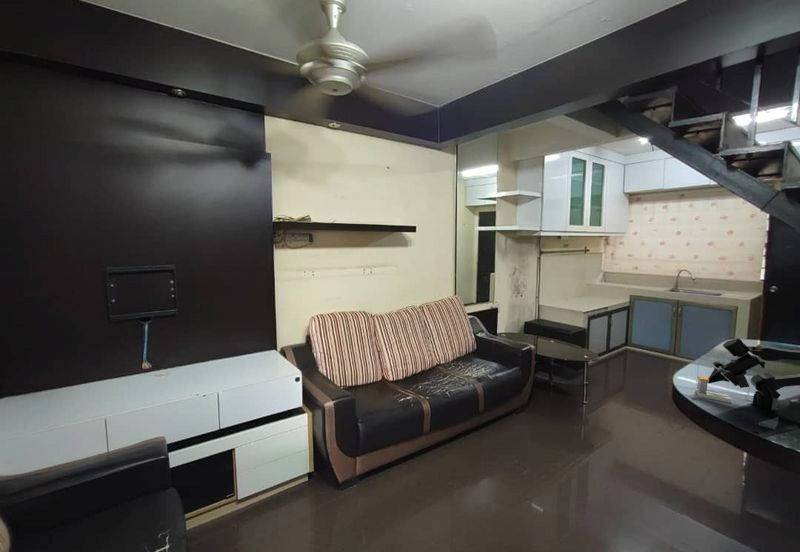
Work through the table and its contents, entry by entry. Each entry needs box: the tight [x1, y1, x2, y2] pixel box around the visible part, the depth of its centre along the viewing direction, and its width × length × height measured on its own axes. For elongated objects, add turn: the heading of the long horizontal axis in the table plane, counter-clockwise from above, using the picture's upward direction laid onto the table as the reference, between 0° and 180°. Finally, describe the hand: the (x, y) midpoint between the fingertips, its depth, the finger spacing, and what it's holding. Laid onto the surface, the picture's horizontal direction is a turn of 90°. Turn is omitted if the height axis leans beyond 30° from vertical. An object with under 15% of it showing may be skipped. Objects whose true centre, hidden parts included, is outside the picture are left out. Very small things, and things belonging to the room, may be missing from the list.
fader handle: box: [696, 374, 710, 393], centre depth 165 cm, size 3×5×7 cm, turn 151°
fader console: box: [695, 388, 733, 403], centre depth 163 cm, size 12×6×2 cm, turn 61°
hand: (707, 382), depth 164 cm, fingers closed
